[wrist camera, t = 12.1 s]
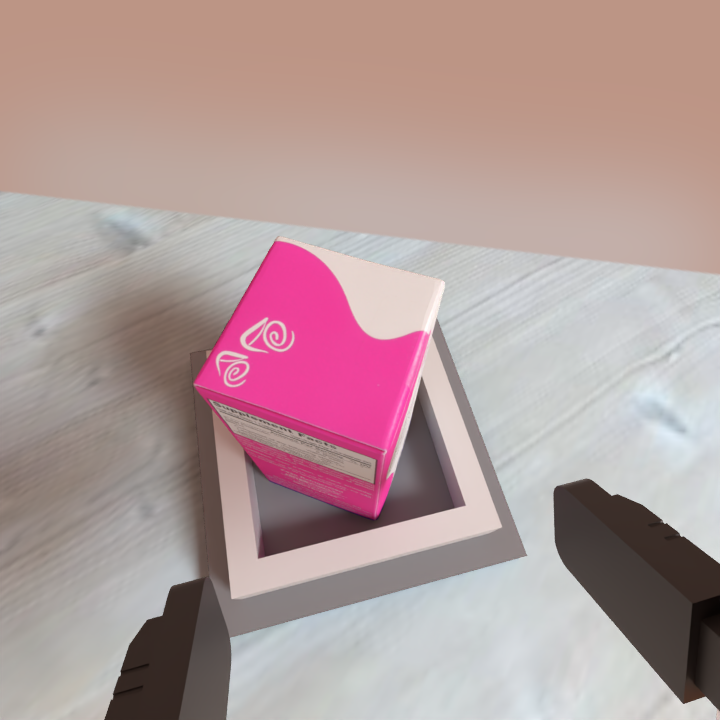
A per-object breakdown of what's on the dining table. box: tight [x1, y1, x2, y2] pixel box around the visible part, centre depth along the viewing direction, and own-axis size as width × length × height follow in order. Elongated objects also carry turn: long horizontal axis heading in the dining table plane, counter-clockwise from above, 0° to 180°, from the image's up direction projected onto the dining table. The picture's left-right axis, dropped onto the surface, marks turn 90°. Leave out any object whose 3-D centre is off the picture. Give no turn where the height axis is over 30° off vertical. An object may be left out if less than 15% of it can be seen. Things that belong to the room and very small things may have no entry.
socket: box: [190, 318, 527, 637], centre depth 23 cm, size 14×14×3 cm
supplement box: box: [193, 236, 445, 521], centre depth 18 cm, size 6×6×12 cm
